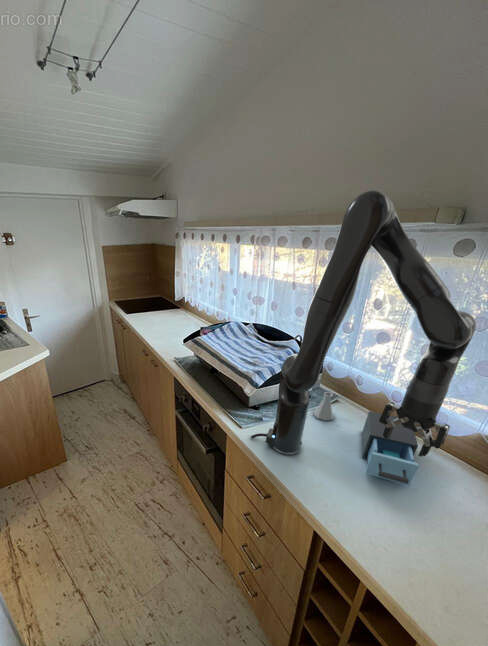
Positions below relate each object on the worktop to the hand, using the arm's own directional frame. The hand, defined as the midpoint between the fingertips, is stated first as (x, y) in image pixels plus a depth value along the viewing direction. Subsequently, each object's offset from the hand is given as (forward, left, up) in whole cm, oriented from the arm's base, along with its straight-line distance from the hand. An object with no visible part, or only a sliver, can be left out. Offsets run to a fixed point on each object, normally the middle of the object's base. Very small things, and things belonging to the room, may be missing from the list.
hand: (403, 446), depth 82 cm
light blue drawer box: (0, +6, -14) cm, 15 cm away
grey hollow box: (0, +18, -15) cm, 23 cm away
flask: (-20, +31, -15) cm, 40 cm away
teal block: (0, +6, -13) cm, 15 cm away
